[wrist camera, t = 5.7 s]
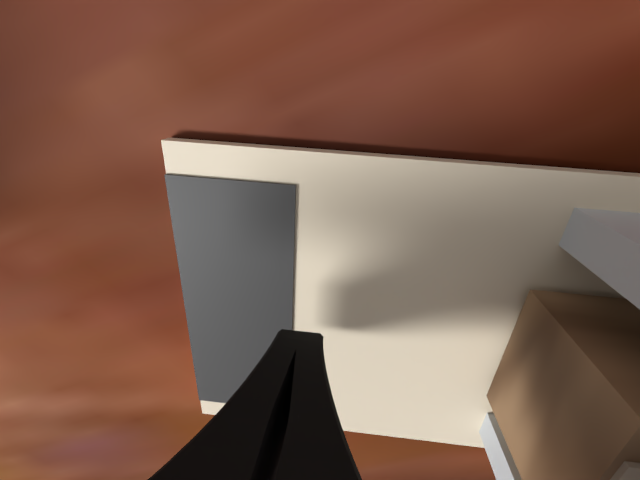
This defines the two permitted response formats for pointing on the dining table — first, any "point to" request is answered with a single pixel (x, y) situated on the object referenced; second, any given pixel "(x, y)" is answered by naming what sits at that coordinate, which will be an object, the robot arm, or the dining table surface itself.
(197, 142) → the tunnel
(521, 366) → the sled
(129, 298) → the dining table surface
